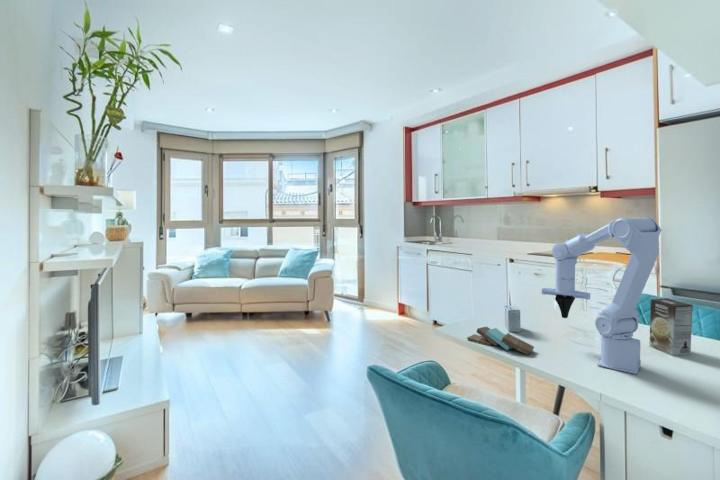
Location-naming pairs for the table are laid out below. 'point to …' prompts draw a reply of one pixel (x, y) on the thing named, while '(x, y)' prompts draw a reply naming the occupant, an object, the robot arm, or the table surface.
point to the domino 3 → (517, 344)
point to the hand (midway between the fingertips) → (564, 317)
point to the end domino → (479, 339)
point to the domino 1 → (483, 332)
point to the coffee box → (671, 326)
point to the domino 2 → (498, 337)
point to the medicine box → (512, 318)
